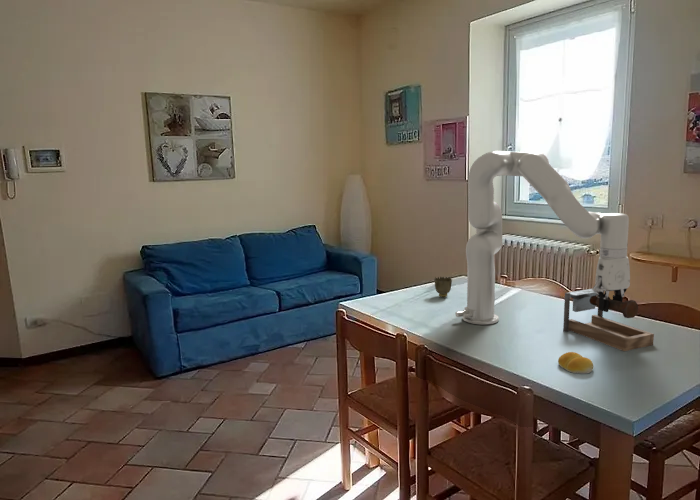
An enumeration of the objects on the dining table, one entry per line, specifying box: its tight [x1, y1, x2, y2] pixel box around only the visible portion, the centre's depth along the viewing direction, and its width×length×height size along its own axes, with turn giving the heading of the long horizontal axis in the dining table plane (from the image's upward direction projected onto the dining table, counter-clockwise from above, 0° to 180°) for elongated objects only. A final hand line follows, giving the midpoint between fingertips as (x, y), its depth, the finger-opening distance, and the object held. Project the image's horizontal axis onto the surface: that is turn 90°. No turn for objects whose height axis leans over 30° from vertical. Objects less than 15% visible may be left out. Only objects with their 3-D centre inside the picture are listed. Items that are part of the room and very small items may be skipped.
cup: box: [433, 276, 453, 298], centre depth 216 cm, size 8×7×8 cm
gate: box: [567, 288, 597, 313], centre depth 171 cm, size 12×4×6 cm, turn 112°
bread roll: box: [557, 351, 594, 375], centre depth 140 cm, size 8×9×4 cm
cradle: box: [562, 291, 655, 352], centre depth 162 cm, size 17×22×13 cm
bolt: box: [590, 295, 639, 319], centre depth 161 cm, size 6×5×15 cm
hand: (610, 309), depth 162 cm, fingers closed on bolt, 5 cm apart
